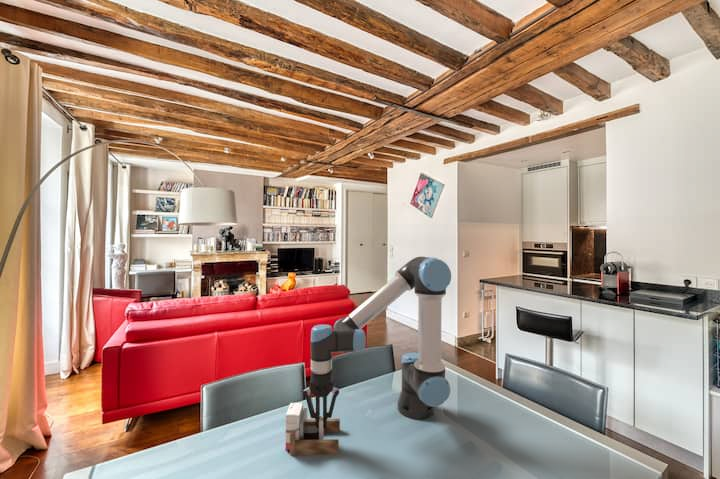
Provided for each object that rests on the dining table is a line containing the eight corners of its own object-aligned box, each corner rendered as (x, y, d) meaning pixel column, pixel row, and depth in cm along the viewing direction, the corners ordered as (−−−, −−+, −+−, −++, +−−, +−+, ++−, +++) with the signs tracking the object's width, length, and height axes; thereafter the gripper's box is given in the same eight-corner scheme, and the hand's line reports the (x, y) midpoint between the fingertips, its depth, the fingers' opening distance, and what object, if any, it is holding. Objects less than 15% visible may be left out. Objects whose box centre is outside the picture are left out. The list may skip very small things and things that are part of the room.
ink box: (300, 450, 104) (299, 414, 104) (285, 450, 103) (284, 415, 103) (304, 434, 112) (303, 401, 112) (290, 434, 112) (289, 402, 112)
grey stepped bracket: (320, 432, 113) (320, 407, 113) (317, 449, 104) (318, 423, 104) (303, 432, 113) (304, 407, 113) (299, 450, 103) (299, 423, 103)
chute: (339, 429, 115) (339, 410, 115) (338, 454, 102) (338, 433, 102) (297, 430, 115) (297, 411, 115) (289, 455, 101) (290, 433, 101)
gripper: (340, 365, 112) (340, 429, 112) (304, 365, 112) (304, 430, 112) (339, 374, 105) (339, 443, 105) (301, 374, 105) (301, 444, 104)
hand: (321, 436), depth 108 cm, fingers closed
